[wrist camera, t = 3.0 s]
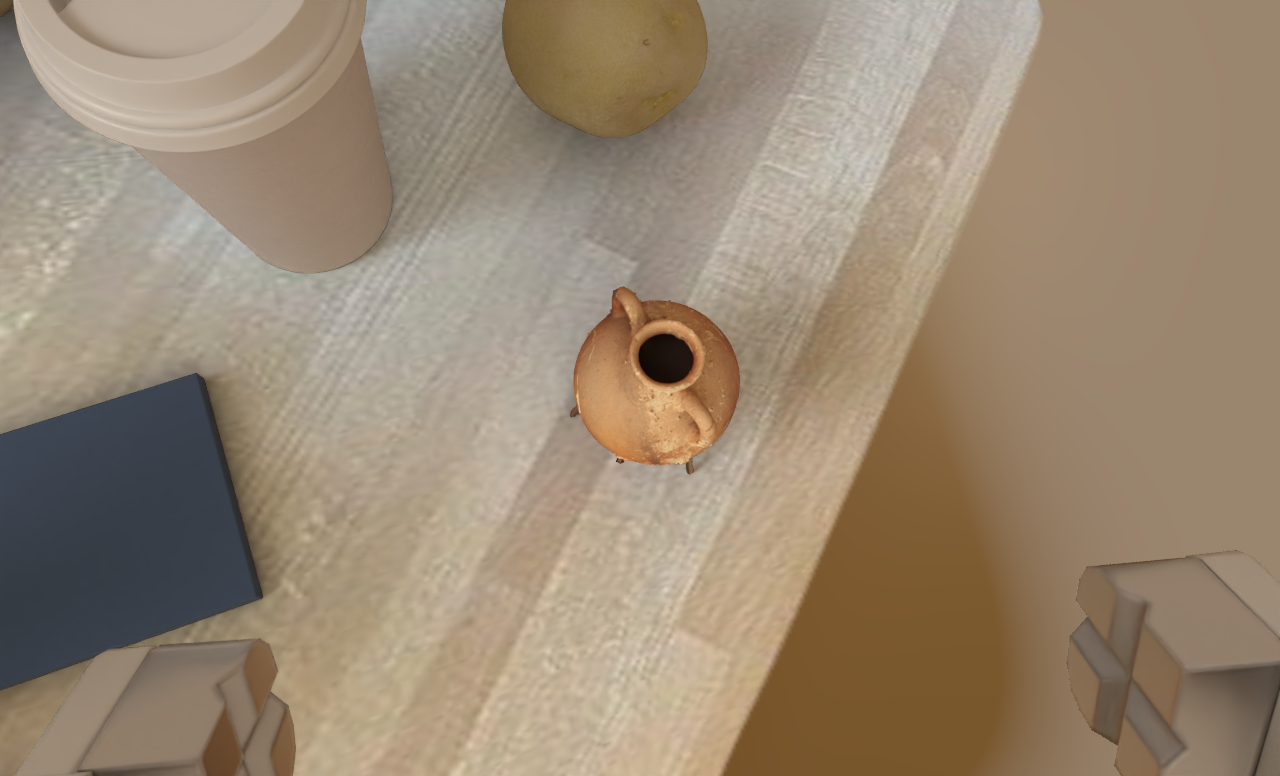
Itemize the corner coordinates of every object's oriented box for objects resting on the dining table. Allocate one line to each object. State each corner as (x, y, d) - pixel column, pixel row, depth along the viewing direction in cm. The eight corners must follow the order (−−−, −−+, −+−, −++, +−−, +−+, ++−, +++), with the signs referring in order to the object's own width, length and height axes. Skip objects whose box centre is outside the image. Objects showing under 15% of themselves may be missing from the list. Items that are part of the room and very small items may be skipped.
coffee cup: (361, 61, 42) (250, -245, 27) (472, 238, 40) (415, 10, 26) (154, 162, 40) (-83, -110, 26) (260, 351, 38) (70, 175, 24)
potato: (614, 209, 41) (624, 109, 33) (474, 98, 42) (452, -24, 34) (723, 90, 43) (757, -31, 35) (587, -13, 44) (591, -154, 36)
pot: (602, 324, 40) (546, 463, 38) (620, 228, 33) (551, 394, 30) (735, 373, 40) (687, 516, 38) (784, 287, 32) (728, 458, 30)
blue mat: (-63, 461, 36) (-76, 457, 36) (204, 377, 38) (196, 372, 37) (-15, 695, 34) (-29, 697, 34) (263, 597, 36) (257, 597, 35)
